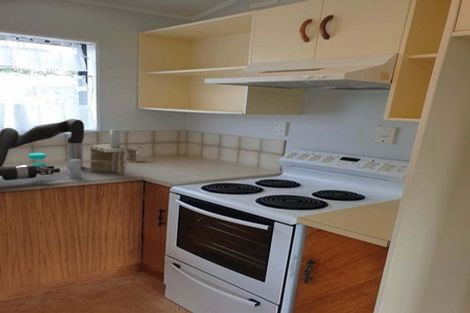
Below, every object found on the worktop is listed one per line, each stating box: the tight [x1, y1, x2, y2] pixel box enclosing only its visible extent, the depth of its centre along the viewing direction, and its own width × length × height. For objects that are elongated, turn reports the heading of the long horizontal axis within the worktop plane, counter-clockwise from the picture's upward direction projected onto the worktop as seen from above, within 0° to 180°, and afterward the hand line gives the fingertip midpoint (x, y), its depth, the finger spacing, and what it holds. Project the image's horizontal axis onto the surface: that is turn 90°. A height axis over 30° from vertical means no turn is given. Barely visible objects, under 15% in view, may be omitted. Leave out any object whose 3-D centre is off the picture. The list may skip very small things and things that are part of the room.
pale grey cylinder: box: [109, 129, 121, 148], centre depth 211 cm, size 6×6×11 cm
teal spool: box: [28, 152, 47, 166], centre depth 218 cm, size 10×10×10 cm
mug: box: [126, 146, 144, 164], centre depth 264 cm, size 14×10×12 cm
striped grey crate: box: [89, 143, 127, 176], centre depth 215 cm, size 20×14×18 cm
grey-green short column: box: [69, 159, 82, 180], centre depth 200 cm, size 6×6×11 cm
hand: (56, 168), depth 192 cm, fingers open, 8 cm apart
